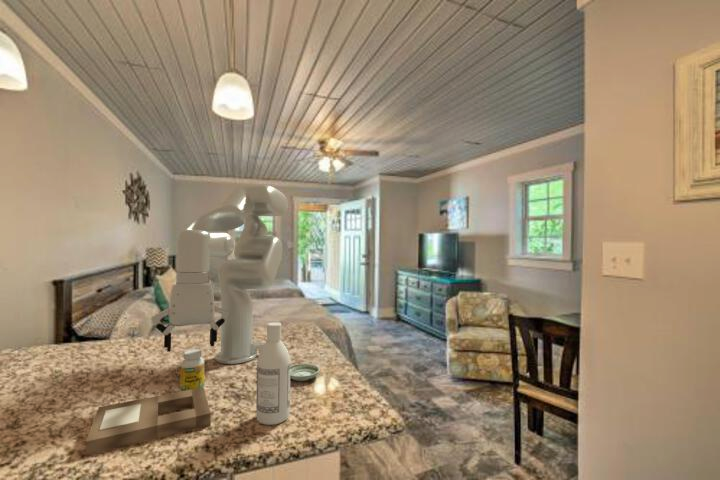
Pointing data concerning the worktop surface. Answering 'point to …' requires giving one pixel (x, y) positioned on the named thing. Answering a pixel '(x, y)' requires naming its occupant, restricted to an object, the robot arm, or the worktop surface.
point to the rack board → (147, 420)
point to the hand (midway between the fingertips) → (190, 347)
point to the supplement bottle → (192, 370)
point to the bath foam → (273, 379)
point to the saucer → (303, 371)
